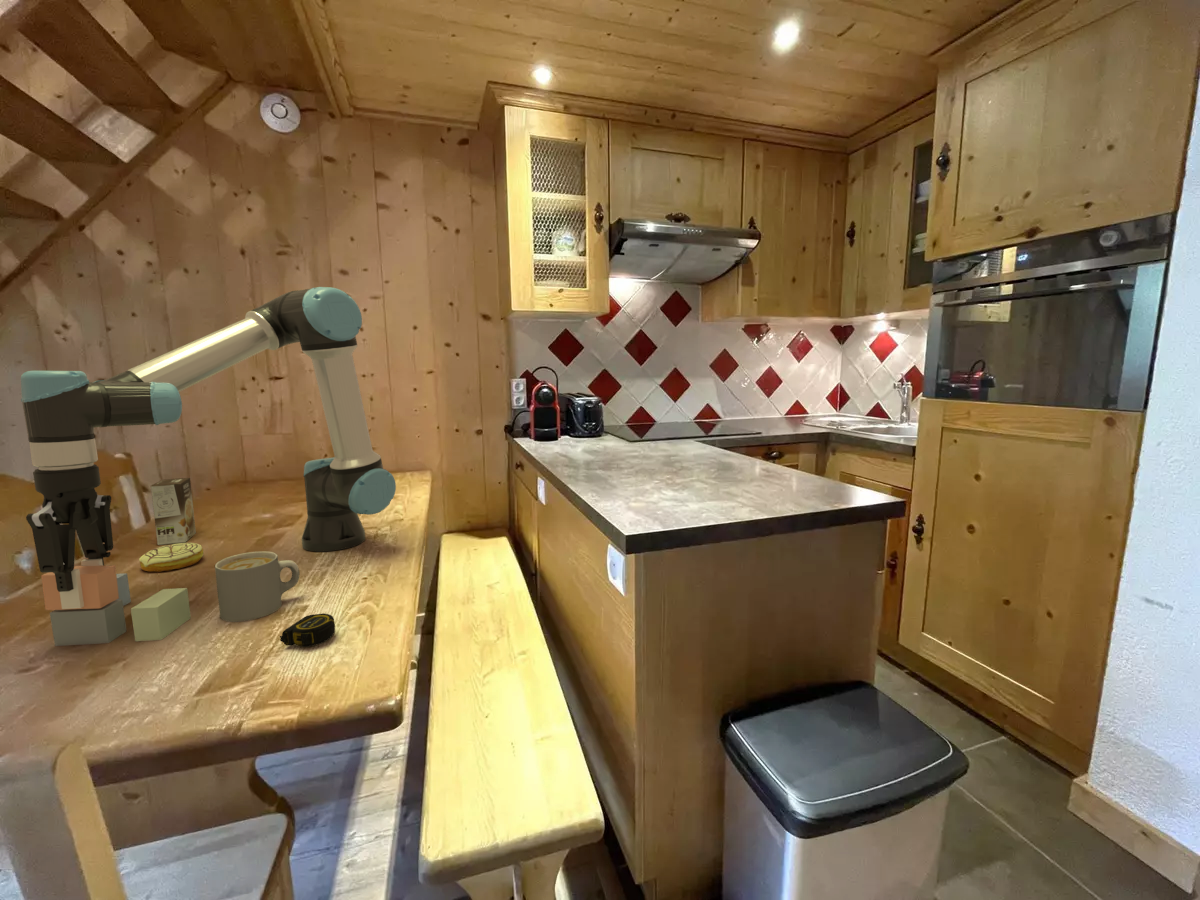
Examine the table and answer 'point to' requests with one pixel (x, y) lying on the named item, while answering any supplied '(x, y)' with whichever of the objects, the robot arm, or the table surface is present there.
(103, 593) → the brick terracotta
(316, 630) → the tape measure
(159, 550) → the decorated donut
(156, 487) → the coffee box
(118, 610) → the brick slate
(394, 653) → the table surface
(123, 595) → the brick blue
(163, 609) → the brick sage
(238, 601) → the coffee mug
